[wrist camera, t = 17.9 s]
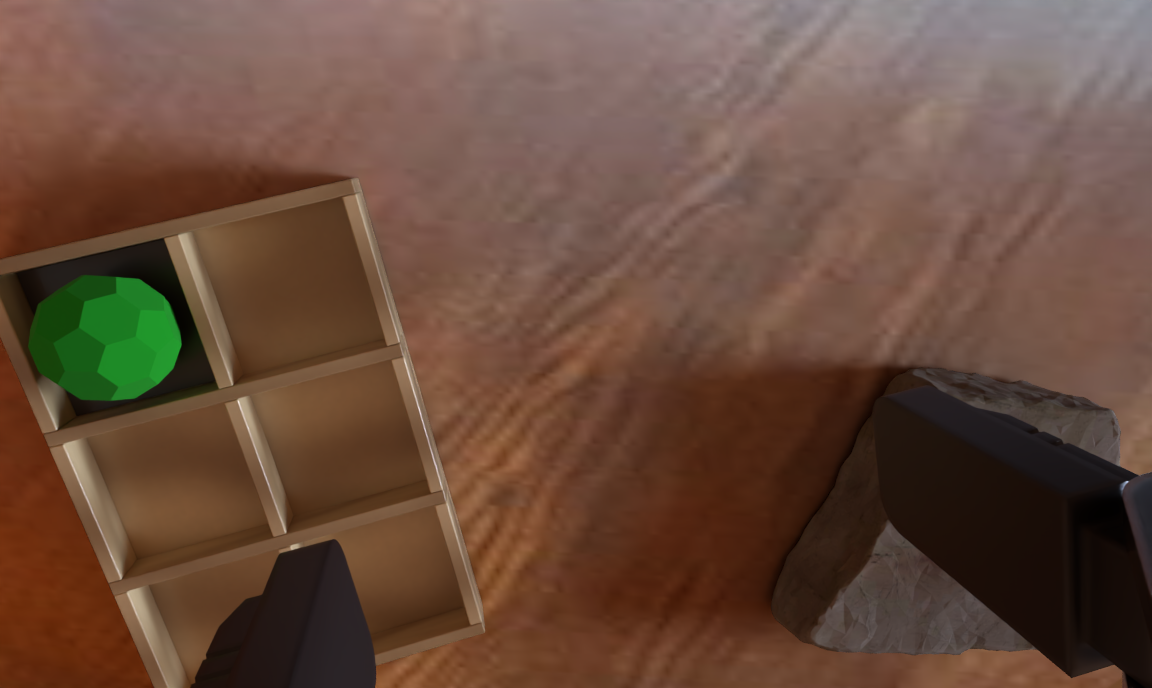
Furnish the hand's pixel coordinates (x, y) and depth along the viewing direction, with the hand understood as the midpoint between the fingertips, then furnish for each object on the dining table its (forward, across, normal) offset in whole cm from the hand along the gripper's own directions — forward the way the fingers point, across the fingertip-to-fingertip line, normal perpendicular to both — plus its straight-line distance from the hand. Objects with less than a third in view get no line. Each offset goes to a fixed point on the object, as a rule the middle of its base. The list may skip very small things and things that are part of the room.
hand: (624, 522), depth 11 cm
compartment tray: (+24, +12, +6) cm, 28 cm away
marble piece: (+25, -20, +18) cm, 36 cm away
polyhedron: (+24, +16, -1) cm, 29 cm away
